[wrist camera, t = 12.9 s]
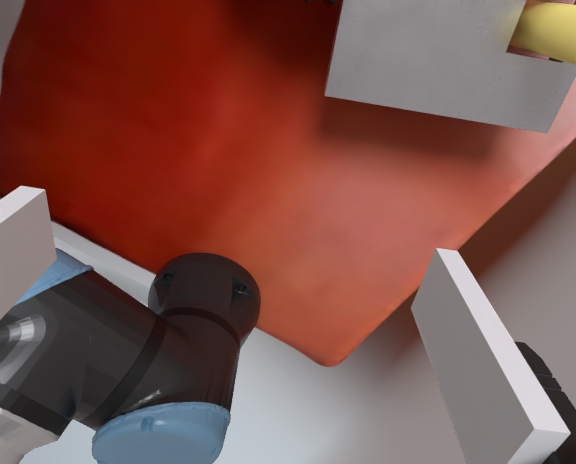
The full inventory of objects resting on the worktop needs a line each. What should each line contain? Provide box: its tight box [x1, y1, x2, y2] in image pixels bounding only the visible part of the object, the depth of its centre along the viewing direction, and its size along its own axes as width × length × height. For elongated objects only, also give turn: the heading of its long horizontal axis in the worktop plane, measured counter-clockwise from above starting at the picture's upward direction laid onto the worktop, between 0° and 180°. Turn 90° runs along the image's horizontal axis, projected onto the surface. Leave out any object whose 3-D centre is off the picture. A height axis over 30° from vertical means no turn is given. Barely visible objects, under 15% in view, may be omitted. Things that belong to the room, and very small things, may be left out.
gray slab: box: [323, 0, 576, 133], centre depth 34 cm, size 16×20×8 cm
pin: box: [509, 0, 576, 65], centre depth 31 cm, size 4×4×14 cm
